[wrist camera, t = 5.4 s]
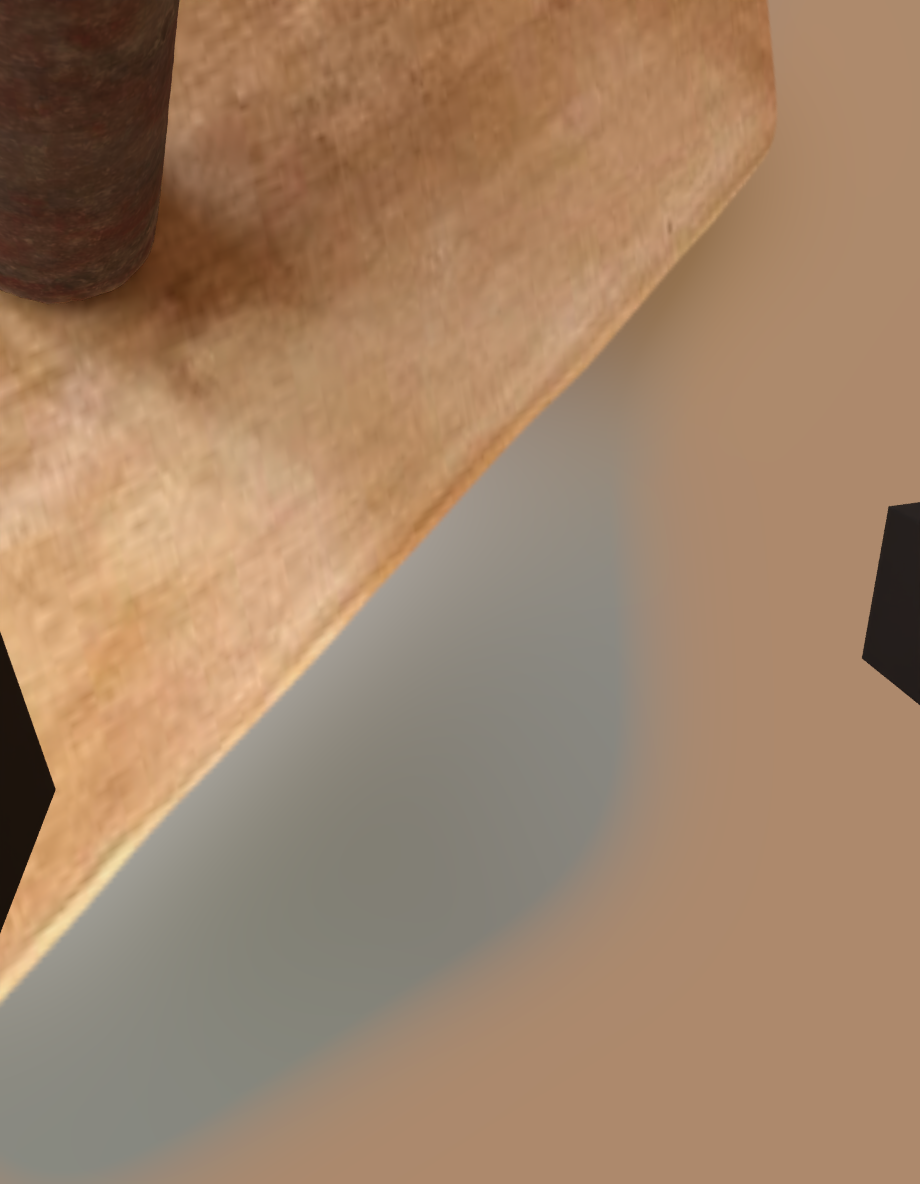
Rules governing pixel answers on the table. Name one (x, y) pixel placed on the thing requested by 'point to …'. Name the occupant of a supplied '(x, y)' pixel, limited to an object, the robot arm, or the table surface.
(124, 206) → the candle
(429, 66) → the table surface
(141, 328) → the table surface
